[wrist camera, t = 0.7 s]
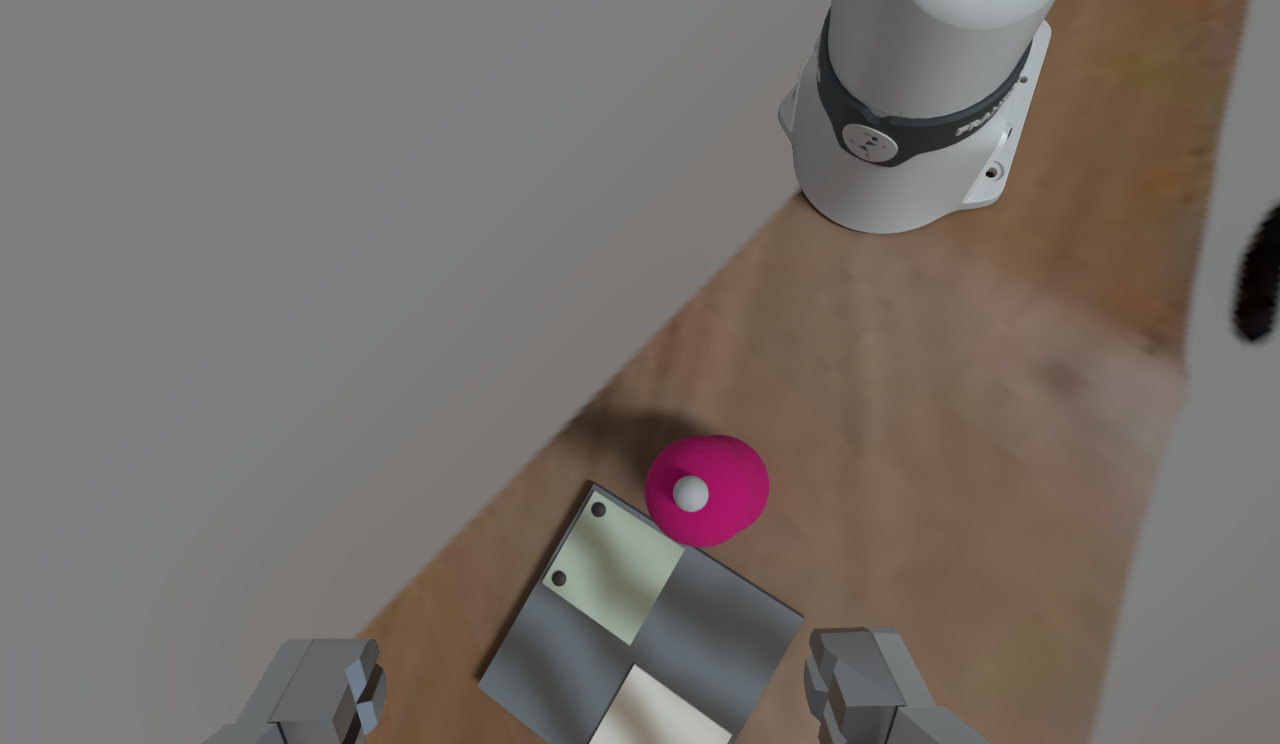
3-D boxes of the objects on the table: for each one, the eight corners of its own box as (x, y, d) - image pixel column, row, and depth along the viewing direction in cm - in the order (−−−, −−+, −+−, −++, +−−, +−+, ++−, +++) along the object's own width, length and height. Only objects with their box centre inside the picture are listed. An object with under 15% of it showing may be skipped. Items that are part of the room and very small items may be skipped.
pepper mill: (662, 466, 50) (590, 466, 31) (738, 420, 49) (713, 392, 30) (708, 545, 48) (662, 599, 29) (787, 500, 47) (794, 524, 28)
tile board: (597, 483, 51) (592, 484, 50) (803, 615, 46) (804, 619, 45) (483, 682, 50) (475, 687, 49) (678, 837, 45) (675, 847, 44)
